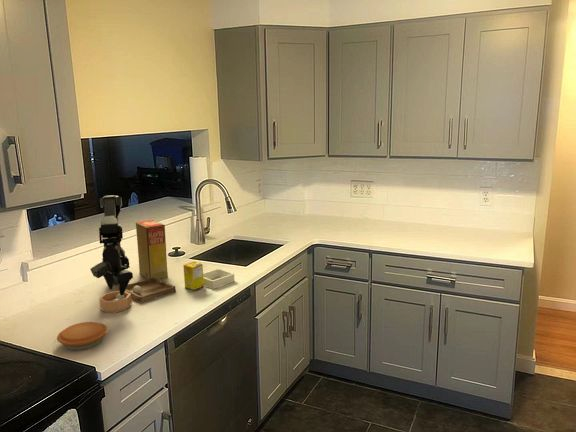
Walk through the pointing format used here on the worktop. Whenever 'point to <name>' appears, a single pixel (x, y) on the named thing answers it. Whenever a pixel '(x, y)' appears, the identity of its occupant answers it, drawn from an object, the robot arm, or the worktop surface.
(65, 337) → the pie
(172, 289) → the tray
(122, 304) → the bowl
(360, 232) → the worktop surface
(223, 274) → the cream holder
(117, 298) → the pebble
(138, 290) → the pebble
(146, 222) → the food packaging
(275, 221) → the worktop surface
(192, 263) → the supplement box
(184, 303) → the worktop surface
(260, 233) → the worktop surface
